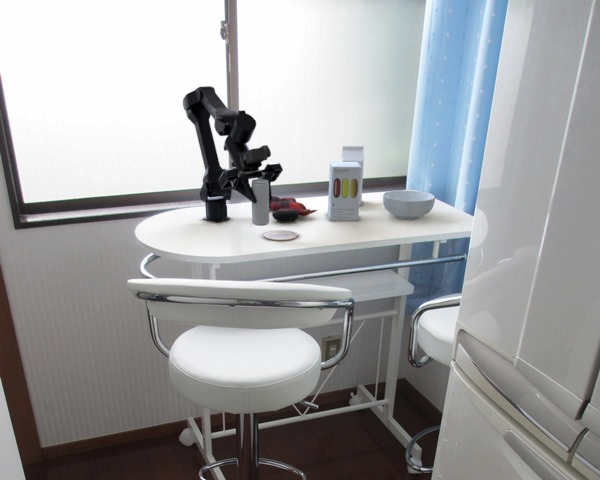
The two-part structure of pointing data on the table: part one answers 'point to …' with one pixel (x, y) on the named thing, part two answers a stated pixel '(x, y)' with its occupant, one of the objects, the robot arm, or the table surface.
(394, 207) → the cereal bowl
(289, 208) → the toy motorcycle
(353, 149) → the milk carton
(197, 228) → the table surface
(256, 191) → the beverage can
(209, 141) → the robot arm
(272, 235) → the cork coaster
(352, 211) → the supplement box
